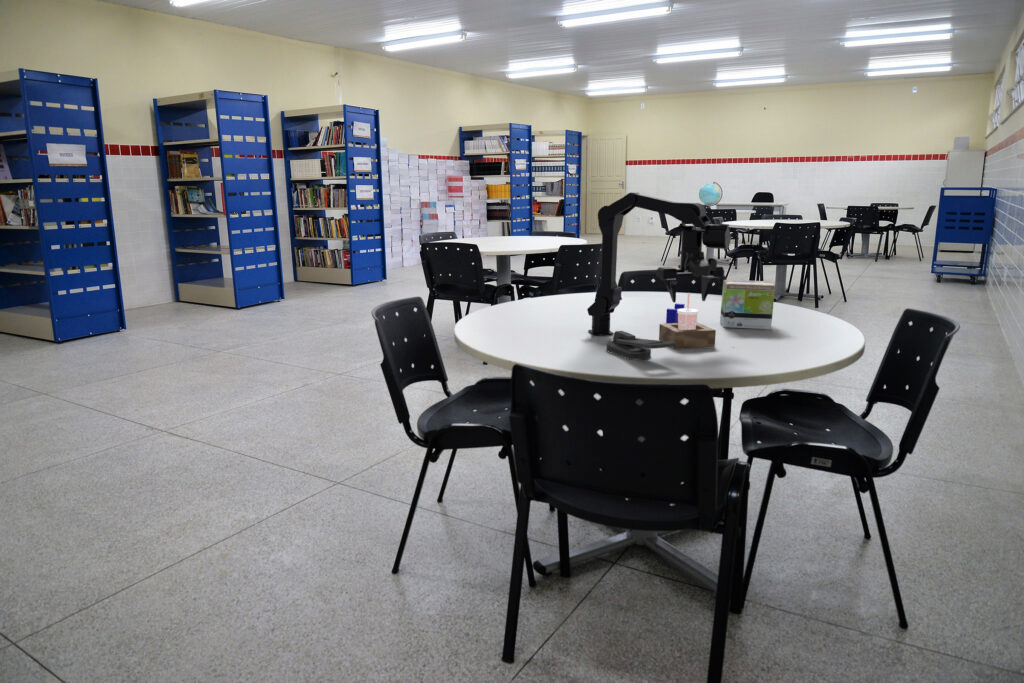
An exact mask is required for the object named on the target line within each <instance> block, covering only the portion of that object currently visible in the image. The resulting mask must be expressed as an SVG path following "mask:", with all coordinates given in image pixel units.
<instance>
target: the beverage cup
mask: <svg viewBox="0 0 1024 683" xmlns="http://www.w3.org/2000/svg"><path fill="white" fill-rule="evenodd" d="M677 313H678V329H679V330H694V329H696V322H698V321H697V320H698V314H699V310H698V309H696V308H690V292H688V293H687V304H686V307H684V308H682V309H677Z"/></svg>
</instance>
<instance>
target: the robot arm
mask: <svg viewBox="0 0 1024 683" xmlns="http://www.w3.org/2000/svg"><path fill="white" fill-rule="evenodd" d="M635 208H639V209H643V210H647V211H651V212H654V213H655V212H656V213H661V214H664V215H668V216H671V217H672V218H674V219H675V220H677V221H679V222H681V223H679V225H678V226H677V227H676V228H674V232H677V233H678V232H681V241H680V242H681V245H680V247H681V248H680V250H678V254H679V255H680V262H679V264H678V267H677V268H678V269H677V268H676V267H673V266H672V267H671V266H660V267H658V268H657V269H656V273H655V275H656V277H657V278H660V280H661V281H663V282H664V284H665V286H666V289H667V291H668V294H669V296H670V299H671V301H672V303H675V304H676V303H677V302H676V299H677V283H678V279H676V278H677V277H678V276H693V277H695V278H697V277H698V278H699V277H701V301H702V302H705V301H706V300H707V297H708V294H709V293H710V289H711V288H712V286H713V284H714V283H715V282H716V281H718V280H720V278H724V277H725V269H724V267H723V266H721V265H718V262H717V261H718V260H717V258H715V257H711V258H710V257H709V258H707V259H705V254H704V253H705V252H704V251H702V250H703V246H705V247H706V249H715V250H716V249H717V250H719V249H721V250H727V249H729V248H730V245H731V240H732V239H731V238H732V235H731V232H730V225H729V223H724V224H713V223H712V221H711V220H710V218H709V216H708V215H707V214H706V212H707V211H706V208H705V206H704V205H703V204H702V203H699V202H686V201H683V202H681V201H672V200H667V199H663V198H660V197H659V198H658V197H655V196H650V195H647V194H641V193H639V192H636V191H635V192H633V191H632V192H629V193H627V194H625V195H624V196H622V198H619V199H617V200H616V201H614V202H612V203H610V204H609V205H604V206H602V207H601V208H599V210H598V211H597V222H598V228H599V230H600V233H601V236H602V238H601V260H600V262H601V263H600V265H601V266H600V282H599V285H598V287H597V289H596V292H595V298H594V301H593V303H592V304H591V305H590V306H589V307H587V309H586V310H587V314H588V316H590V317H591V329H588V330H587V331H588V333H590V334H591V335H593V336H607V335H608V336H611V335H614V333H615V332H614V331H611V314H613V313H614V311H615V309H616V308H617V307H618V306H620V302H621V301H622V300H623V298H622V292H623V287H622V286H619V285H618V284H617V263H618V262H617V260H618V257H617V255H618V235H619V233H620V231H621V228H622V225H623V221H624V216H626V215H628V214H629V213H630V212H631V211H633V210H634V209H635Z"/></svg>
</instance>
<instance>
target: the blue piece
mask: <svg viewBox="0 0 1024 683" xmlns="http://www.w3.org/2000/svg"><path fill="white" fill-rule="evenodd" d="M682 308H685V303H677V302H675V304H674V308H671V307H670V308H669V307H667V308H666V317H665V321H666V322H665V324H667V323H678V313H677V309H682Z"/></svg>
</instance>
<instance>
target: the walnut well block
mask: <svg viewBox="0 0 1024 683" xmlns="http://www.w3.org/2000/svg"><path fill="white" fill-rule="evenodd" d="M658 329H659V330H658V332H659V333H658V341H668V342H675V343H676V346H673V347H672V348H673V349H674V350H686V349H703V348H704V349H706V348H715V347H716V334H717V330H716V329H714V328H712V327H709V326H707V325H704V324H703V323H700V322H698V321H696V329H694V330H679V329H678V323H667V324H666V323H659V328H658Z"/></svg>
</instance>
